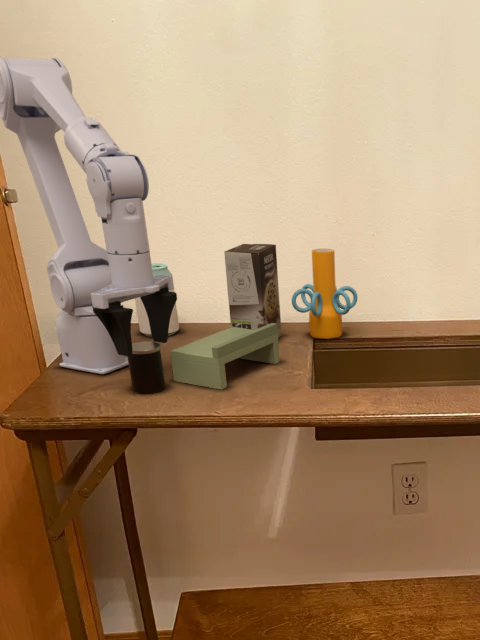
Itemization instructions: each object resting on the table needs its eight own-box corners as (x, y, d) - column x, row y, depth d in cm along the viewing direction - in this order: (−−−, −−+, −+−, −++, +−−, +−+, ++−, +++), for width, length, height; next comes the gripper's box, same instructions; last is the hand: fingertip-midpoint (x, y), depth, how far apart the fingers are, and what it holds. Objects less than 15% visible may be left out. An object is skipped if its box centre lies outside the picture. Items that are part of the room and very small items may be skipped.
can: (140, 329, 150) (130, 263, 144) (178, 327, 151) (170, 261, 146) (140, 339, 144) (129, 270, 138) (180, 336, 146) (171, 268, 140)
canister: (124, 390, 119) (117, 348, 116) (147, 381, 123) (141, 339, 120) (151, 396, 117) (144, 352, 114) (173, 386, 121) (167, 344, 118)
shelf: (174, 381, 124) (168, 340, 120) (235, 354, 136) (231, 317, 133) (221, 389, 120) (217, 347, 117) (279, 361, 133) (277, 323, 130)
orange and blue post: (350, 325, 154) (348, 244, 146) (365, 340, 145) (364, 253, 138) (288, 330, 150) (283, 247, 143) (299, 345, 142) (294, 257, 134)
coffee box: (266, 348, 139) (258, 252, 131) (231, 346, 140) (222, 250, 133) (283, 335, 147) (277, 243, 139) (250, 333, 148) (242, 241, 140)
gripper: (113, 262, 103) (129, 364, 110) (185, 246, 115) (196, 339, 122) (72, 258, 106) (91, 358, 113) (146, 242, 117) (159, 334, 124)
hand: (143, 348), depth 117 cm, fingers open, 7 cm apart
